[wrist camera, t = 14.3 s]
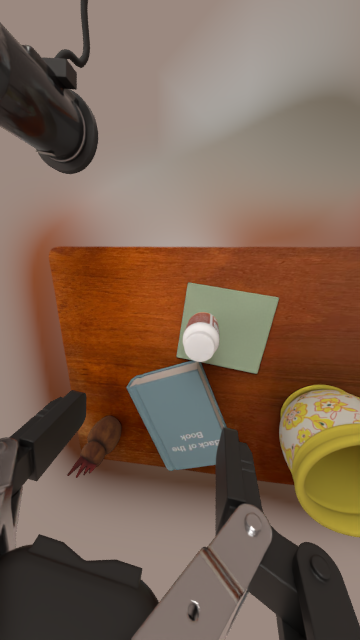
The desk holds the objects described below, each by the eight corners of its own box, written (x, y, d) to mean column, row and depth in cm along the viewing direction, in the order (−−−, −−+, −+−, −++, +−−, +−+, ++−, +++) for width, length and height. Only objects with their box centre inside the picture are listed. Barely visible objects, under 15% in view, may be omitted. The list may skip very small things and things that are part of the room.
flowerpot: (294, 359, 42) (339, 418, 27) (384, 393, 41) (485, 474, 26) (255, 426, 48) (274, 507, 32) (333, 458, 47) (392, 557, 31)
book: (232, 442, 50) (234, 461, 45) (170, 452, 54) (165, 471, 49) (199, 358, 45) (197, 370, 40) (133, 376, 49) (124, 389, 44)
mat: (188, 282, 42) (187, 282, 41) (278, 297, 40) (279, 298, 39) (176, 355, 46) (176, 357, 46) (256, 372, 44) (257, 374, 44)
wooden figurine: (96, 417, 55) (54, 473, 41) (111, 407, 53) (73, 462, 39) (114, 436, 56) (79, 497, 41) (129, 427, 54) (98, 487, 40)
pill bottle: (182, 330, 44) (171, 353, 33) (197, 305, 42) (191, 321, 31) (208, 346, 44) (205, 373, 33) (224, 321, 42) (227, 342, 31)
